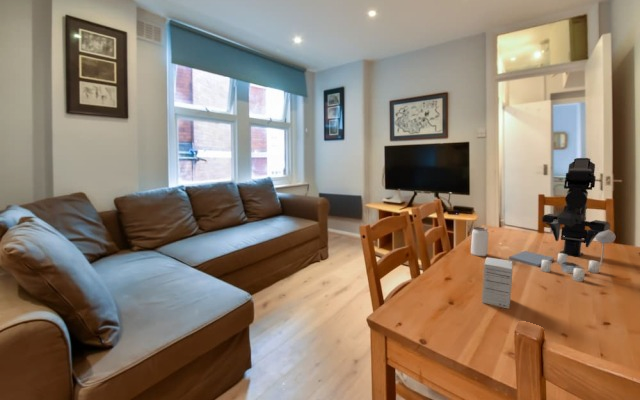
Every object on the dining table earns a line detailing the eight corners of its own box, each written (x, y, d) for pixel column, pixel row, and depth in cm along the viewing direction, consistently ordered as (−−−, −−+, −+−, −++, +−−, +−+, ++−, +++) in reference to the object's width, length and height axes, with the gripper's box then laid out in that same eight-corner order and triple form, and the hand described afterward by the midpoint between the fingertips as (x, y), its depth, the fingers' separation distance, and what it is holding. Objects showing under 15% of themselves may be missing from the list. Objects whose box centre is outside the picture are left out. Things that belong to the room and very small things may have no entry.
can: (489, 257, 129) (490, 230, 127) (473, 256, 131) (474, 230, 129) (483, 252, 136) (485, 227, 134) (468, 251, 137) (470, 226, 135)
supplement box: (483, 293, 96) (486, 256, 94) (510, 299, 92) (513, 260, 90) (480, 302, 90) (483, 263, 88) (509, 309, 86) (513, 268, 84)
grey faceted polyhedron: (565, 268, 116) (565, 261, 115) (579, 272, 112) (580, 264, 111) (559, 271, 113) (560, 263, 113) (573, 274, 109) (574, 267, 109)
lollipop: (607, 263, 119) (612, 228, 117) (614, 268, 114) (619, 231, 112) (588, 261, 122) (592, 226, 120) (593, 266, 117) (598, 230, 114)
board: (525, 253, 133) (525, 250, 133) (553, 260, 124) (554, 257, 124) (508, 258, 127) (509, 256, 126) (537, 266, 117) (538, 264, 117)
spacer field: (559, 261, 122) (560, 252, 122) (600, 272, 111) (601, 262, 110) (539, 270, 114) (540, 260, 113) (581, 282, 103) (582, 271, 102)
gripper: (536, 202, 113) (533, 241, 115) (600, 209, 97) (594, 254, 99) (550, 199, 118) (546, 237, 121) (613, 206, 102) (607, 249, 104)
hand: (571, 243), depth 111 cm, fingers open, 9 cm apart
